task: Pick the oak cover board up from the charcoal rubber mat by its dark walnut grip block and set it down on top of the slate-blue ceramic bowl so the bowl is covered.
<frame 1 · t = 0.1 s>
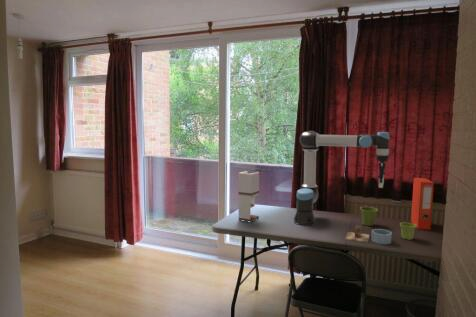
hand: (381, 185, 236), 28 cm above the table, tool pointing down, fingers open, 13 cm apart
plant pot: (407, 238, 214), on the table
charcoal mat: (357, 238, 214), on the table
oak cover board: (357, 237, 214), resting on charcoal mat
white coffee grinder: (248, 219, 254), on the table
plant pot 2: (368, 224, 242), on the table
file binder: (420, 225, 239), on the table
slate-blue bowl: (381, 241, 208), on the table
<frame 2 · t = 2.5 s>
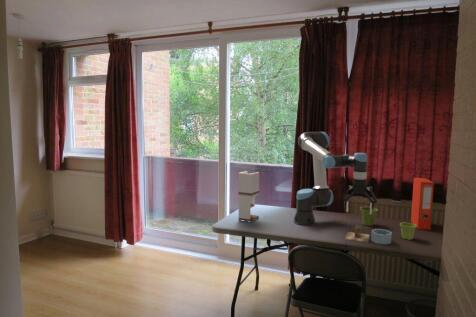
hand: (358, 212, 212), 16 cm above the table, tool pointing down, fingers open, 13 cm apart
nothing on the table moved.
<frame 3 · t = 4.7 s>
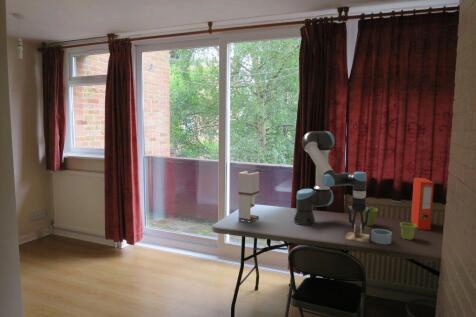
hand: (357, 234, 214), 3 cm above the table, tool pointing down, fingers closed on oak cover board, 3 cm apart
oak cover board: (357, 237, 214), resting on charcoal mat, touching gripper
everything else where it was.
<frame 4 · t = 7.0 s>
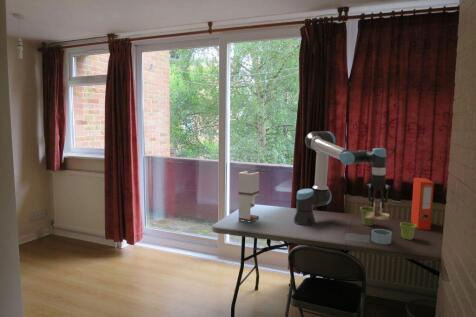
hand: (377, 213, 207), 17 cm above the table, tool pointing down, fingers closed on oak cover board, 3 cm apart
oak cover board: (377, 216, 207), point 15 cm above the table, touching gripper
everything else where it was.
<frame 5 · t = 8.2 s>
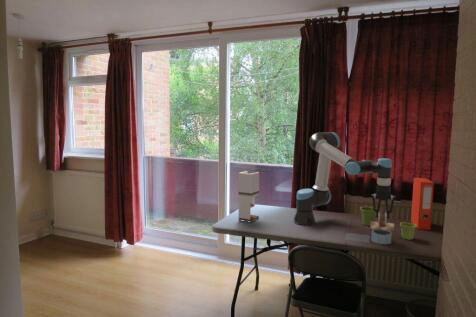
hand: (382, 223, 207), 11 cm above the table, tool pointing down, fingers closed on oak cover board, 3 cm apart
oak cover board: (382, 226, 207), point 9 cm above the table, touching gripper
everything else where it was.
when the fingers open (10 cm above the table, at t = 9.1 s): oak cover board drops 1 cm, resting on slate-blue bowl.
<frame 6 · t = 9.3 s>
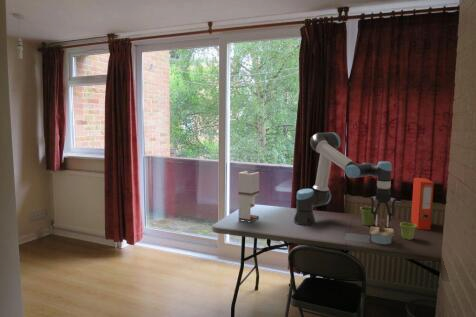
hand: (381, 225, 207), 10 cm above the table, tool pointing down, fingers open, 5 cm apart
oak cover board: (381, 231, 208), point 6 cm above the table, touching slate-blue bowl
everything else where it was.
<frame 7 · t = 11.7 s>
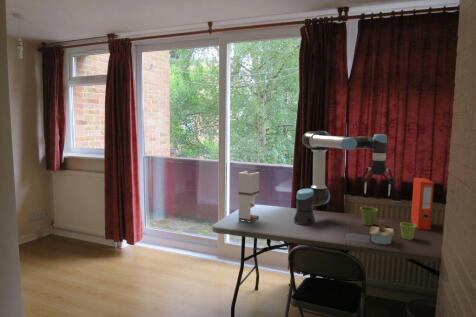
hand: (376, 194, 212), 28 cm above the table, tool pointing down, fingers open, 13 cm apart
nothing on the table moved.
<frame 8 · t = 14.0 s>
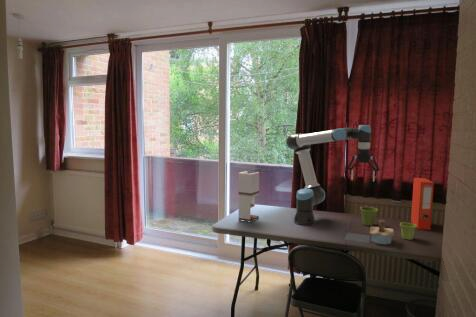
hand: (362, 180, 230), 33 cm above the table, tool pointing down, fingers open, 13 cm apart
nothing on the table moved.
at the end: oak cover board 0.0 cm off-centre on the slate-blue bowl, point 6.0 cm above the slate-blue bowl's base; oak cover board tilted 0°; the gripper is holding nothing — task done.
